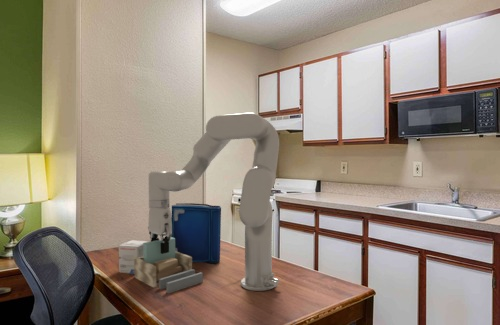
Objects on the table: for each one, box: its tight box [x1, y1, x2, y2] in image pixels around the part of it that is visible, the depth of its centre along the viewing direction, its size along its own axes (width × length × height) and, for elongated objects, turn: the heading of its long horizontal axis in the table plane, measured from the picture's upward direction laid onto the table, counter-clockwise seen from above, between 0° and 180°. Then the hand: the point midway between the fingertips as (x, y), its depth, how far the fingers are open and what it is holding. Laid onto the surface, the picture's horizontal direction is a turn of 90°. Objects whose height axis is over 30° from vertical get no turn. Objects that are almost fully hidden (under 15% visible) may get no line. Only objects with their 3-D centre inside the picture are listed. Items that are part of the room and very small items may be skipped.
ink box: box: [118, 239, 148, 275], centre depth 133 cm, size 9×8×12 cm
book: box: [171, 202, 222, 264], centre depth 145 cm, size 22×7×25 cm, turn 84°
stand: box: [158, 268, 204, 295], centre depth 117 cm, size 9×15×4 cm, turn 135°
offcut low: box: [156, 265, 182, 283], centre depth 123 cm, size 4×10×4 cm, turn 135°
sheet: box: [143, 237, 175, 265], centre depth 127 cm, size 2×12×13 cm, turn 135°
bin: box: [134, 251, 193, 289], centre depth 125 cm, size 14×16×8 cm
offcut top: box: [153, 257, 178, 273], centre depth 123 cm, size 4×8×3 cm, turn 139°
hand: (159, 250), depth 127 cm, fingers open, 6 cm apart
